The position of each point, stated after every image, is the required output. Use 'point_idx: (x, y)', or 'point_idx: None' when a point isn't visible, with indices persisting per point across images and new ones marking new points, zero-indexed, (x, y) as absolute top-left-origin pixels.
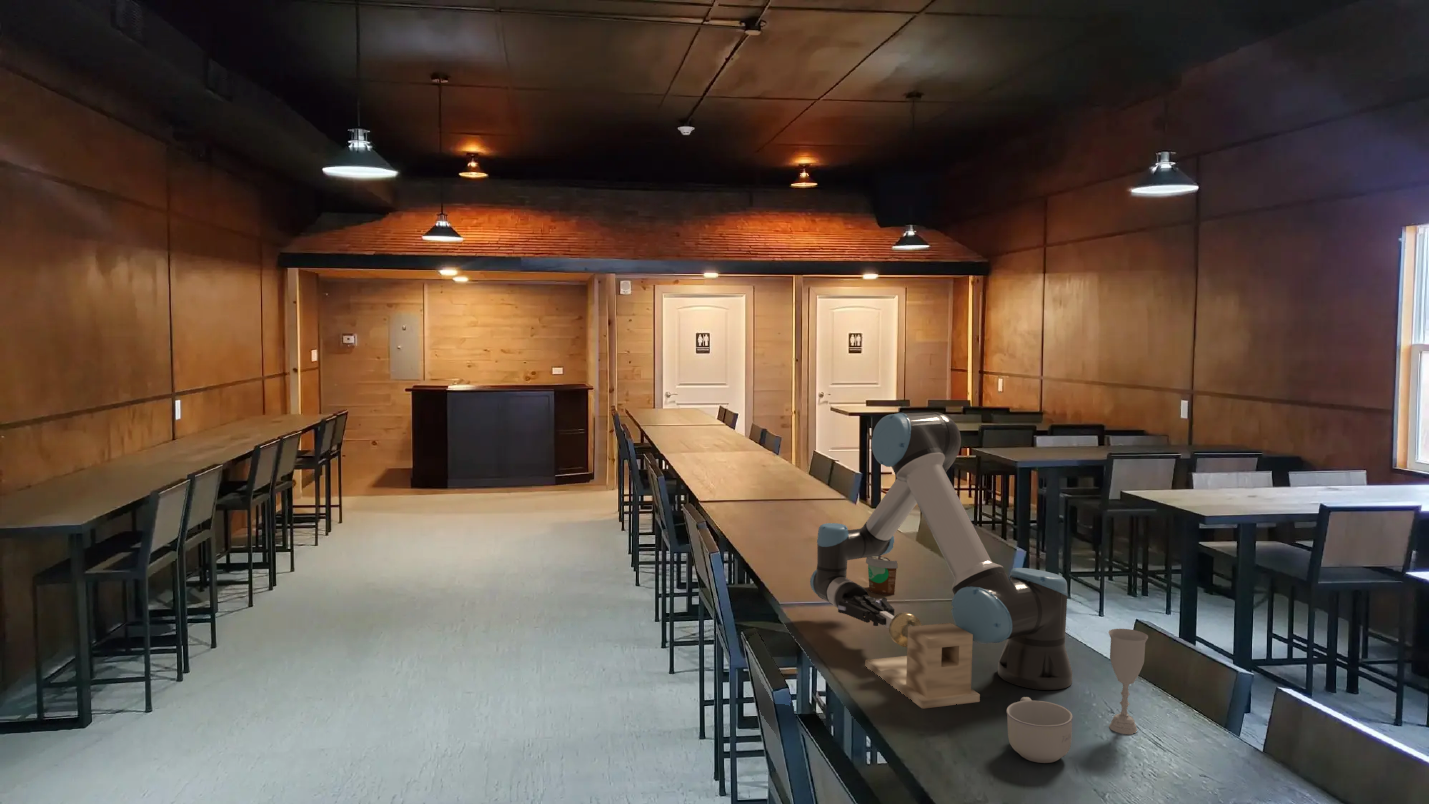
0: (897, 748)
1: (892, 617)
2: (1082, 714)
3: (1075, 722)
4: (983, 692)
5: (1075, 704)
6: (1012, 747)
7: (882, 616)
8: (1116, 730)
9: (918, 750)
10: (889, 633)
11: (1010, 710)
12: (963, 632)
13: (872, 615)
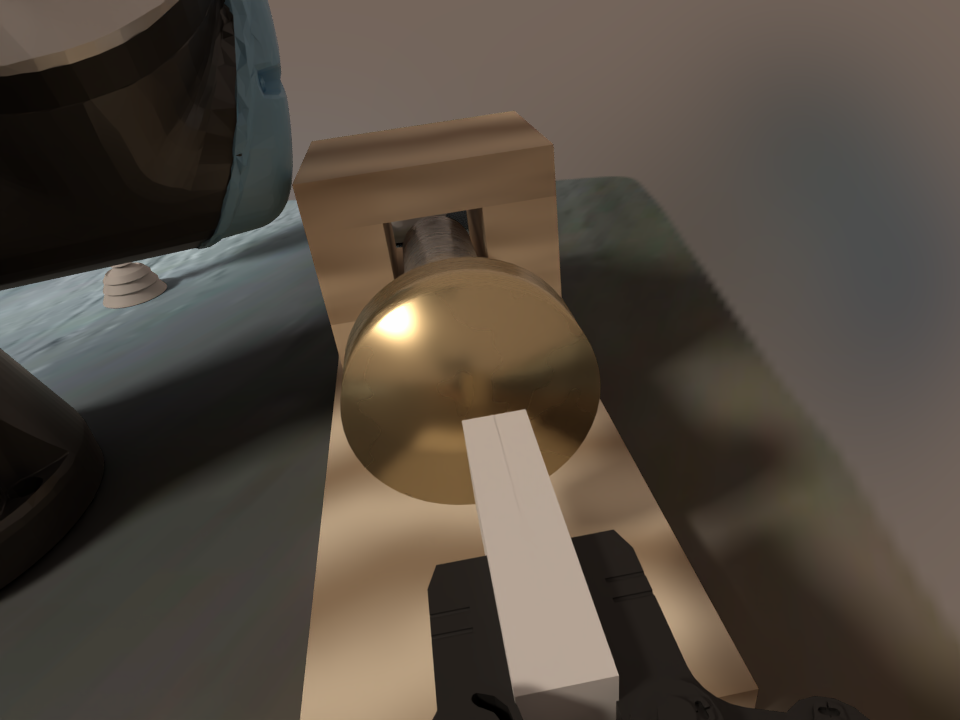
0: (671, 226)
1: (513, 463)
2: (140, 331)
3: (202, 306)
4: (275, 420)
5: (87, 367)
6: (446, 214)
7: (595, 600)
8: (164, 283)
9: (627, 225)
10: (595, 404)
11: None
12: (332, 144)
13: (733, 711)
